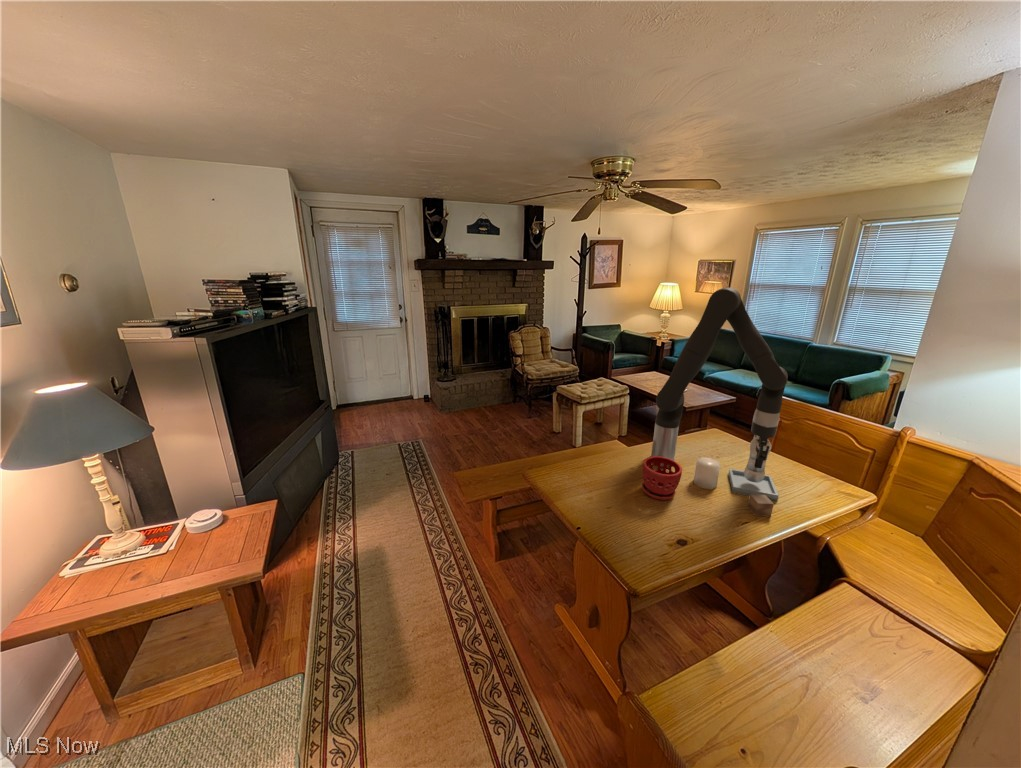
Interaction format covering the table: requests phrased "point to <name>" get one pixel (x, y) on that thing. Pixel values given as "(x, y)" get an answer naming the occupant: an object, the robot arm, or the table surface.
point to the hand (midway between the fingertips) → (756, 463)
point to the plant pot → (660, 477)
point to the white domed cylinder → (706, 473)
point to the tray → (752, 485)
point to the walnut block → (760, 505)
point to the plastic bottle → (750, 470)
